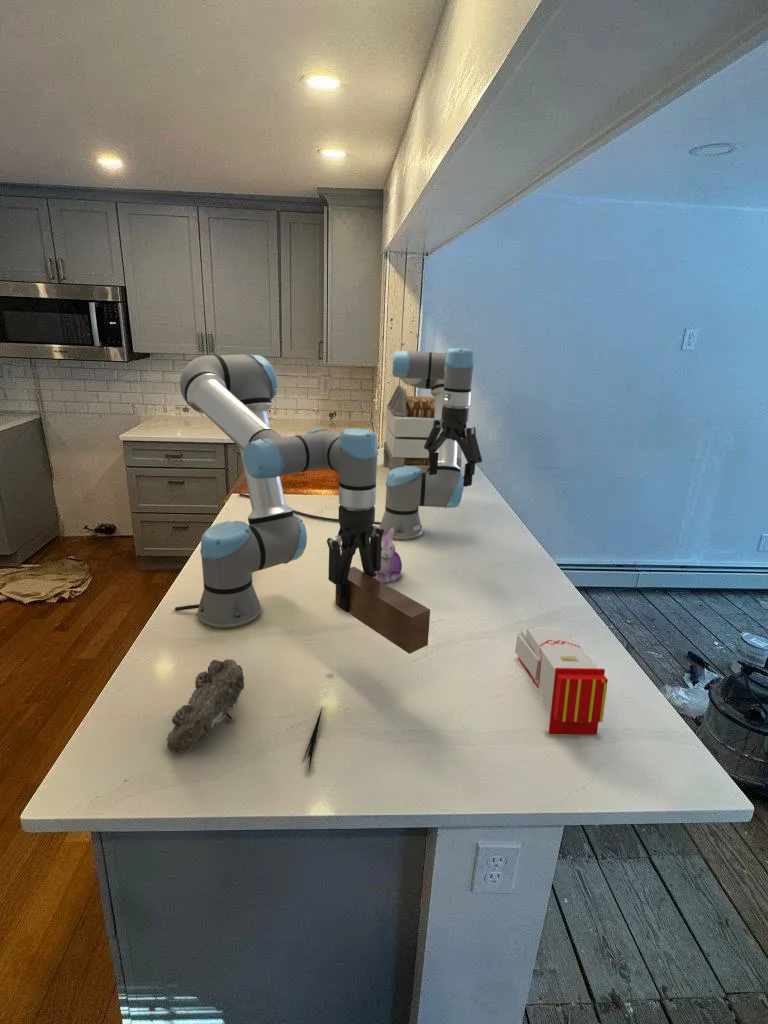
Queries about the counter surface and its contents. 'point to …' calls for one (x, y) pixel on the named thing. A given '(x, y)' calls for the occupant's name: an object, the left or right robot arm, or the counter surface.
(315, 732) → the feather
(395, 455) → the transformer
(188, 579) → the counter surface
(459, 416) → the right robot arm
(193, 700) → the fossil
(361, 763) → the counter surface
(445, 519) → the counter surface
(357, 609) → the walnut box
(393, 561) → the figurine
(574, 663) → the toy
